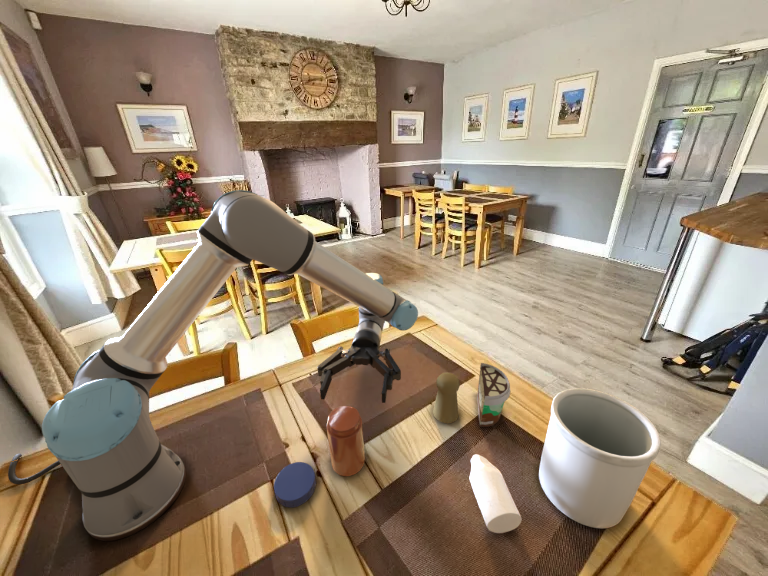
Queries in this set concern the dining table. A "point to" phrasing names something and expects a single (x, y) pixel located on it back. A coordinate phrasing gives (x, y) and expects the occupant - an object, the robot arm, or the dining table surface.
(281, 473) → the lid
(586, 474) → the utensil holder
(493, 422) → the food container
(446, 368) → the dining table surface
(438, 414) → the olive brown pawn
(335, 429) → the jar
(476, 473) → the white dropper bottle
